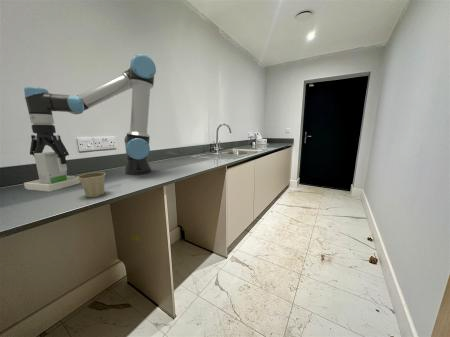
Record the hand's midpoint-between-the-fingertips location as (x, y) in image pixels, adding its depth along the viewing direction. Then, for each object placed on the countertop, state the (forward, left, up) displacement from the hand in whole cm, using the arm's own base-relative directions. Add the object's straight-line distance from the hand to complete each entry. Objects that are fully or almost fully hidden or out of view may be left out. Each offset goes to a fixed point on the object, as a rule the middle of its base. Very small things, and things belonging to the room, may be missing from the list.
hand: (52, 170), depth 86 cm
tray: (0, 0, -8) cm, 8 cm away
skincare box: (0, 0, -7) cm, 7 cm away
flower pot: (-30, +6, -8) cm, 32 cm away
